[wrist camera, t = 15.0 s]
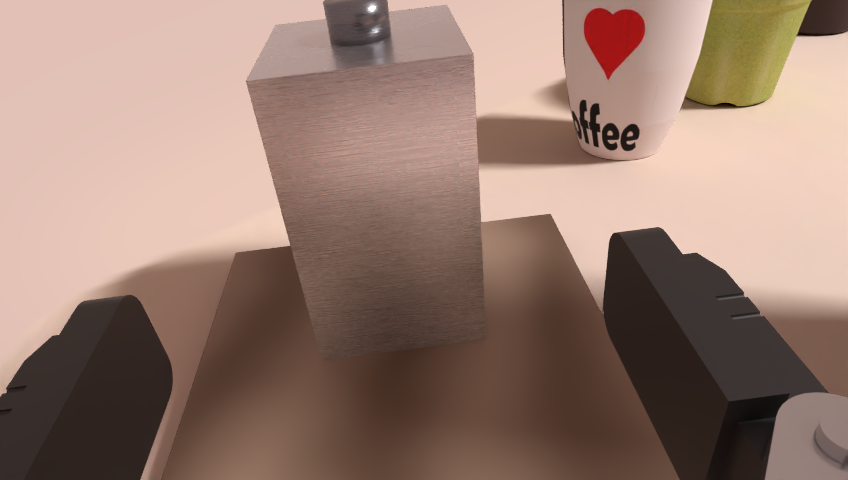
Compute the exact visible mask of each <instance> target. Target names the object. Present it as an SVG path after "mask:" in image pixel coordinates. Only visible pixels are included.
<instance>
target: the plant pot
mask: <svg viewBox="0 0 848 480" xmlns="http://www.w3.org/2000/svg"><path fill="white" fill-rule="evenodd" d="M811 1H812V0H713V1H712V5H711V9H710V14H709V18H708V22H707V26H706V30H705V34H704V38H703V43H702V47H701V51H700V55H699V58H698V61H697V63H696V66H695V69H694V72H693V75H692V77H691V80H690V83H689V86H688V89H687V92H686V94H685V96H686V97H687V98H689V99H691V100H694V101H697V102H700V103H702V104H706V105H716V104H719V103H732V104H734V105H736V106H749V105H753V104H757V103H760V102H763V101H766V100H767V99H769V98H770V97H771V96H772V94H773V92H774V89H775V87H776V84H777V82H778V79H779V77H780V74H781V72H782V69H783V67H784V64H785V62H786V60H787V57H788V55H789V52H790V50H791V48H792V45H793V43H794V40H795V38H796V35H797V33H798V31H799V28H800V26H801V23H802V21H803V18H804V16H805V14H806V11H807V9H808V7H809V4H810V2H811Z"/></svg>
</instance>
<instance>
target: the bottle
mask: <svg viewBox="0 0 848 480" xmlns="http://www.w3.org/2000/svg"><path fill="white" fill-rule="evenodd" d="M845 31H848V0H812V1H811V2H810V4H809V7H808V9H807V11H806V14H805V16H804V18H803V21H802V23H801V26H800V28H799V31H798V33H797V34H810V35H824V34H836V33H841V32H845Z"/></svg>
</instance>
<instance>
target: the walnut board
mask: <svg viewBox="0 0 848 480" xmlns="http://www.w3.org/2000/svg"><path fill="white" fill-rule="evenodd" d="M481 235H482V257H483V279H484V302H485V324H486V339H484V340H476V341H468V342H460V343H452V344H445V345H437V346H429V347H421V348H413V349H406V350H398V351H390V352H382V353H374V354H367V355H359V356H351V357H343V358H335V359H328V360H321V356H320V352H319V348H318V345H317V341H316V337H315V334H314V330H313V326H312V323H311V319H310V315H309V312H308V308H307V304H306V301H305V297H304V293H303V290H302V286H301V282H300V278H299V275H298V271H297V267H296V264H295V260H294V256H293V253H292V249H291V246H287V247H279V248H270V249H262V250H254V251H246V252H238V253H236V255H235V258H234V261H233V264H232V267H231V270H230V273H229V276H228V279H227V282H226V285H225V288H224V291H223V294H222V297H221V300H220V303H219V306H218V309H217V312H216V315H215V318H214V321H213V324H212V328H211V331H210V334H209V337H208V340H207V343H206V346H205V349H204V352H203V355H202V358H201V361H200V364H199V367H198V370H197V373H196V376H195V379H194V382H193V385H192V388H191V391H190V394H189V397H188V400H187V403H186V407H185V410H184V413H183V416H182V419H181V422H180V425H179V428H178V431H177V434H176V437H175V440H174V443H173V446H172V449H171V452H170V455H169V458H168V461H167V464H166V467H165V470H164V473H163V476H162V479H161V480H680V479H679V477H678V475H677V473H676V471H675V469H674V467H673V465H672V463H671V461H670V459H669V457H668V455H667V453H666V451H665V449H664V447H663V445H662V443H661V441H660V439H659V436H658V434H657V432H656V430H655V428H654V426H653V424H652V422H651V420H650V418H649V416H648V414H647V412H646V410H645V408H644V406H643V404H642V402H641V400H640V398H639V396H638V394H637V392H636V390H635V388H634V386H633V384H632V382H631V380H630V378H629V376H628V374H627V372H626V370H625V368H624V366H623V364H622V362H621V359H620V357H619V355H618V353H617V351H616V349H615V347H614V345H613V343H612V341H611V339H610V337H609V334H608V331H607V328H606V324H605V319H604V317H603V316H602V314H601V312H600V310H599V308H598V306H597V304H596V302H595V300H594V298H593V296H592V294H591V292H590V290H589V288H588V286H587V284H586V282H585V280H584V278H583V276H582V275H581V273H580V271H579V269H578V267H577V265H576V263H575V261H574V259H573V257H572V255H571V253H570V251H569V249H568V247H567V245H566V243H565V241H564V239H563V237H562V235H561V234H560V232H559V230H558V228H557V226H556V224H555V222H554V220H553V218H552V216H551V214H546V215H537V216H529V217H521V218H513V219H505V220H497V221H489V222H481Z"/></svg>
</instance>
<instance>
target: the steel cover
mask: <svg viewBox="0 0 848 480" xmlns="http://www.w3.org/2000/svg"><path fill="white" fill-rule="evenodd" d="M323 4H324V9H325V15H326V19H324V20H315V21H306V22H297V23H289V24H281V25H275V27H274V29H273V31H272V33H271V35H270V37H269V38H268V40H267V42H266V44H265V46H264V48H263V50H262V52H261V53H260V55H259V57H258V59H257V61H256V63H255V65H254V67H253V69H252V70H251V72H250V74H249V76H248V78H247V80H246V83H247V87H248V91H249V94H250V98H251V102H252V105H253V109H254V113H255V116H256V120H257V124H258V127H259V131H260V135H261V138H262V142H263V146H264V149H265V153H266V157H267V161H268V164H269V168H270V172H271V175H272V179H273V183H274V186H275V190H276V194H277V197H278V201H279V205H280V208H281V212H282V216H283V220H284V223H285V227H286V231H287V234H288V238H289V242H290V245H291V249H292V253H293V256H294V260H295V264H296V267H297V271H298V275H299V278H300V282H301V286H302V290H303V293H304V297H305V301H306V304H307V308H308V312H309V315H310V319H311V323H312V326H313V330H314V334H315V337H316V341H317V345H318V348H319V352H320V356H321V360H328V359H335V358H343V357H351V356H359V355H367V354H374V353H382V352H390V351H398V350H406V349H413V348H421V347H429V346H437V345H445V344H452V343H460V342H468V341H476V340H484V339H486V324H485V302H484V279H483V257H482V235H481V212H480V190H479V168H478V145H477V123H476V103H475V81H474V56H473V52H472V50H471V49H470V47H469V45H468V43H467V41H466V39H465V37H464V36H463V34H462V32H461V30H460V28H459V26H458V25H457V23H456V21H455V19H454V17H453V15H452V14H451V12H450V10H449V8H448V6H447V5H442V6H434V7H425V8H416V9H408V10H399V11H391V12H389V11H388V2H387V0H325V1H324V2H323Z"/></svg>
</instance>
